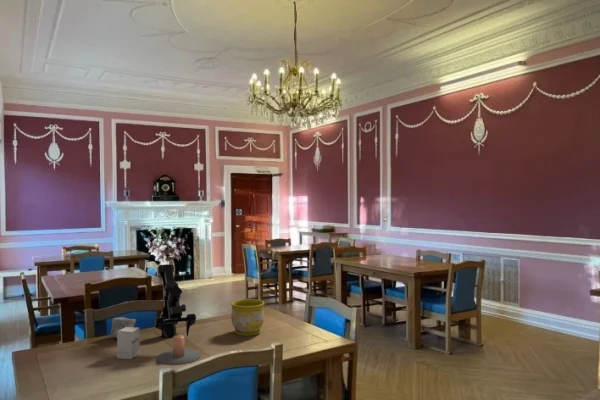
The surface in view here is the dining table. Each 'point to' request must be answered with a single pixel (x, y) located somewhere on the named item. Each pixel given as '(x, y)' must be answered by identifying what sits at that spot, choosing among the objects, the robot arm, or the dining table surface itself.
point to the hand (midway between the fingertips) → (177, 336)
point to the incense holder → (121, 324)
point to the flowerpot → (247, 316)
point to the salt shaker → (178, 346)
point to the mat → (168, 358)
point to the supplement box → (128, 342)
